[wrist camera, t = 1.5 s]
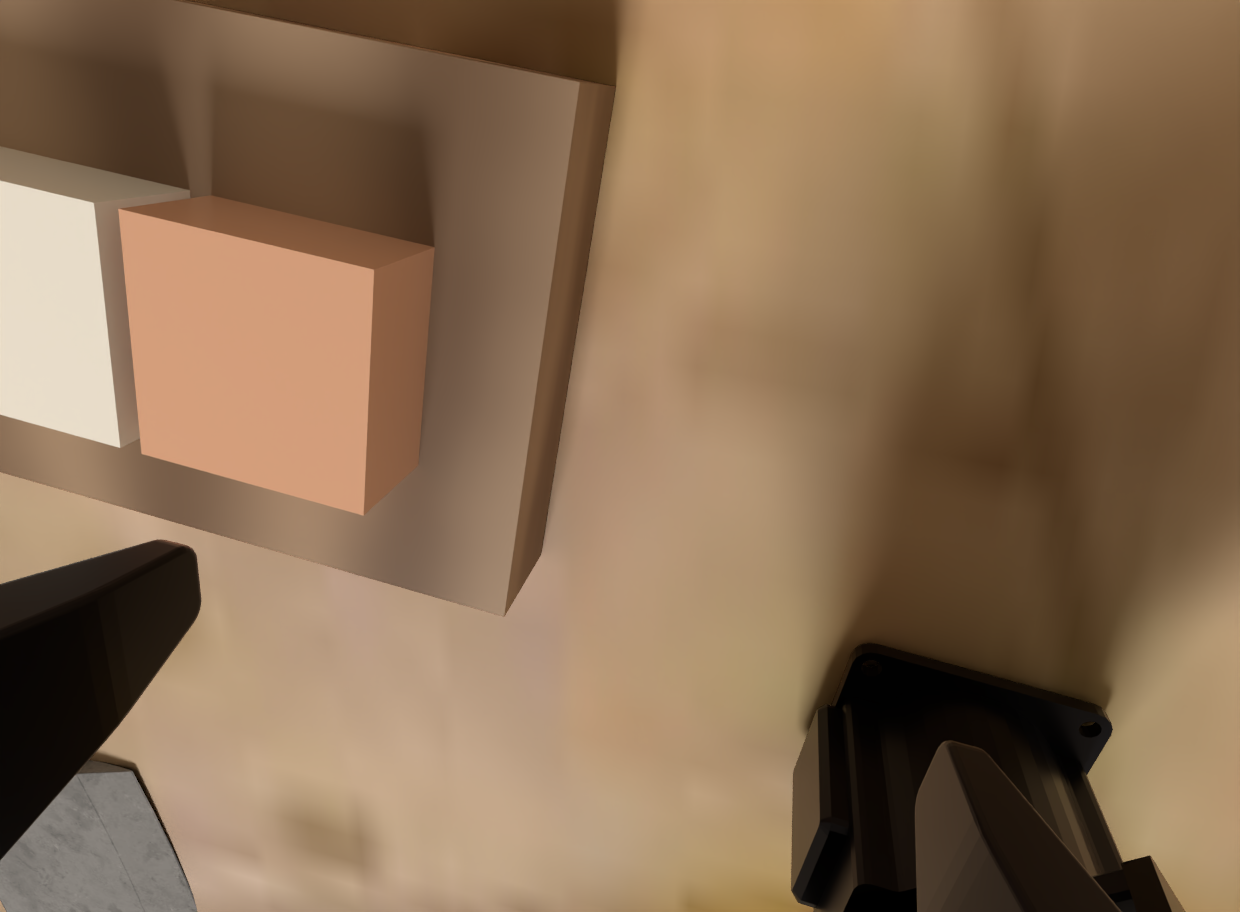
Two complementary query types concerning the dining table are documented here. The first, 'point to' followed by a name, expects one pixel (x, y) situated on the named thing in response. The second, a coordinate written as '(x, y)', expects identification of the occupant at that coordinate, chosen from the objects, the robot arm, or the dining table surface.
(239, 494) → the tan board
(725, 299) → the dining table surface
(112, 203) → the cream tile
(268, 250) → the terracotta tile
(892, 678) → the robot arm
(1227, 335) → the dining table surface
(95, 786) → the cleaver
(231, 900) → the dining table surface
